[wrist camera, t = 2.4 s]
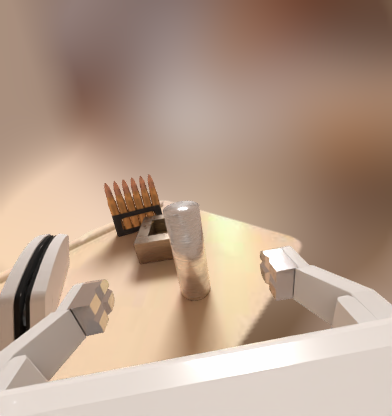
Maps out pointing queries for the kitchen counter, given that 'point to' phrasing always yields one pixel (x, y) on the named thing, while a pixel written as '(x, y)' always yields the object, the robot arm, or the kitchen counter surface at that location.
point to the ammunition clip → (132, 205)
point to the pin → (188, 248)
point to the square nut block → (153, 240)
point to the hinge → (33, 286)
